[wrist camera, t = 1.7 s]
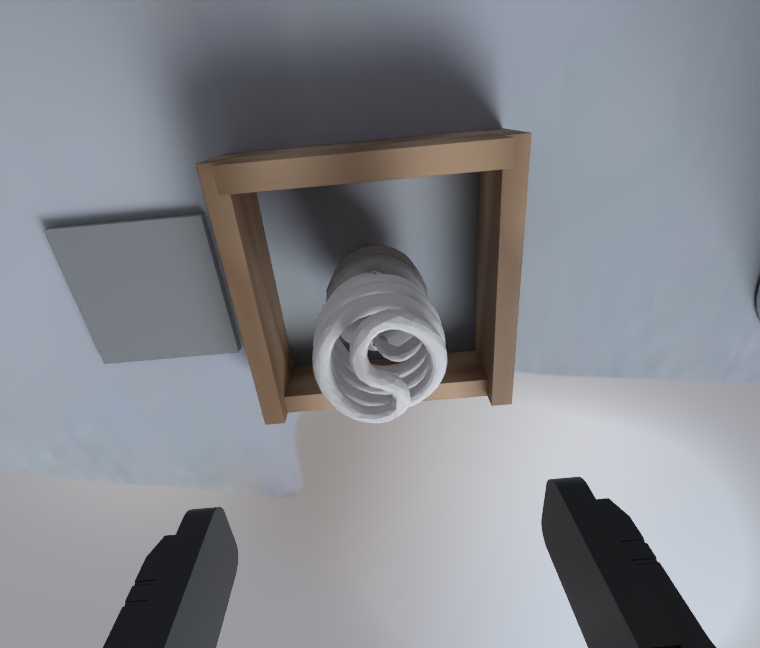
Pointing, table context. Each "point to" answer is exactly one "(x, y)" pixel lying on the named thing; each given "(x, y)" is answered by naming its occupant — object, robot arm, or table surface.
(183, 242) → the slate mat
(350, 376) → the light bulb
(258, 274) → the wooden frame
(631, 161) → the table surface
